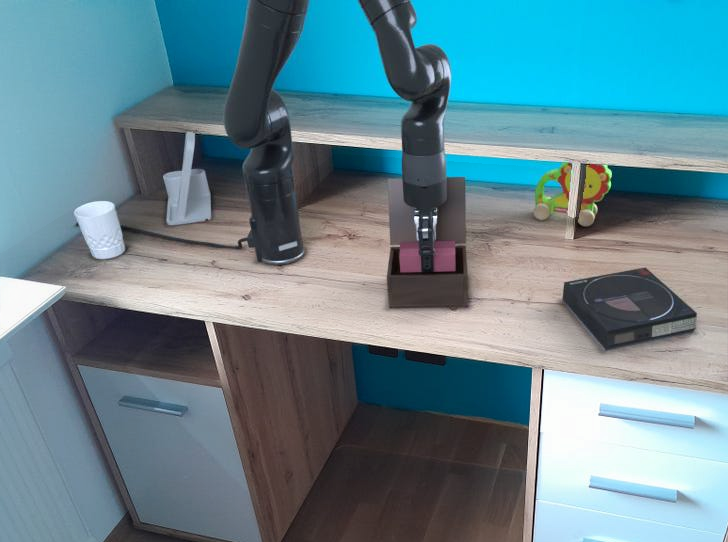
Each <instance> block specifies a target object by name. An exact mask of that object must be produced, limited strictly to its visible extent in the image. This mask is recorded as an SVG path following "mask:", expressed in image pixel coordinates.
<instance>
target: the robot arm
mask: <svg viewBox="0 0 728 542" xmlns="http://www.w3.org/2000/svg"><path fill="white" fill-rule="evenodd" d="M357 2H358V4H359V6H360V8H361V10H362V12H363V14H364V16H365V18H366V20H367V23H369V26H370V28H371V30H372V31H373V33H374V35H375V39H376V44H377V48H378V52H379V56H380V59H381V62H382V63H381V64H382V67H383V71H384V74H385V77H386V80H387V82H388V84H389V87H390V88H391V89H392V90H393V92H394V93H395V94H396V95H397V96H398V98H400V99H402V100H404V101H406V102H411V103H410V107H408V109H407V111H405V113H404V114H403V116H402V117H401V120H400V136H401V178H402V181H403V197H404V202H405V203H406V204H407V205H408V206H410V207H414V208H415V214H414V220H415V224H416V237H417V240H418V241H419V255H420V256H421V270H422V272H433V270H434V263H433V254H434V247H433V241H434V240H436V224H437V208H434V207H438V206H440V205H442V204H444V203H445V201H446V200H447V177H448V176H447V157H446V151H445V125H444V124H445V122H444V121H445V118H446V114H447V108H448V104H449V103H448V102H449V98H450V94H451V93H450V92H451V85H452V68H451V63H450V60H449V57H448V55H447V53H446V52H445V50H443V48H441V46H438V45H436V44H433V43H427V44H423V45H419V46H417V47H416V46H415V43H414V39H413V35H412V31H413V29H414V28H415V27H416V25H417V22H418V15H417V12H416V10H415V7H414V5H413V3H412V2H411V0H357ZM309 6H310V0H248V2H247V7H246V14H245V20H244V28H243V32H242V37H241V41H240V45H239V50H238V56H237V62H236V65H235V69H234V73H233V77H232V79H231V83H230V86H229V90H228V92H227V96H226V98H225V102H224V106H223V111H222V121H223V122H222V123H223V126H224V131H225V133H226V135H227V137H228V139H229V140H230V142H231V143H233V145H235V146H237V147H238V148H242V149H245V150H247V149H250V151H249V153H248V155H247V156H246V158H245V159H244V161H243V163H242V167H241V168H242V174H243V175H242V176H243V179H244V184H245V191H246V194H247V199H248V204H249V209H250V214H251V215H250V217H249V220H248V221H249V226H250V230H249V232H248V235H247V236H246V237H243V238H239V240H238V241H237V245H234V246H232V245H224V244H218V243H214V242H208V241H200V240H192V239H185V238H180V237H175V236H170V235H165V234H162V233H156V232H152V231H148V230H145V229H140V228H136V227H132V226H127V225H121V224H120V227H121V230H126V231H132V232H134V233H135V232H136V233H141V234H143V235H147V236H148V235H149V236H152V237H156V238H161V239H165V240H170V241H174V242H179V243H183V244H184V243H185V244H190V245H199V246H205V247H213V248H219V249H230V250H231V249H232V250H240V249H242V248H243V243H244V242H247V246H248V249H253V248H254V250H255V255H256V260H257V263H264V264H266V265H271V266H283V265H289V264H292V263H295V262H297V261H299V260H301V259H303V257H304V256H305V253H306V250H305V246H304V241H303V240H304V239H303V234H302V227H301V222H300V214H299V209H298V202H297V197H296V195H297V194H296V190H295V183H294V178H293V170H292V165H293V162H294V161H293V160H294V146H293V137H292V127H291V120H290V119H291V118H290V114H289V110H288V108H287V104H286V102H285V101H284V98H283V97H282V96H281V94H279V92H278V91H277V90H276V89H273V88H274V85H275V82H276V81H277V78H278V77H279V75H280V74H281V71H282V70H283V68H284V67H285V65H286V64H287V62H288V61H289V59H290V57H291V56H292V54H293V52H294V51H295V49H296V47H297V45H298V44H299V41H300V39H301V36H302V33H303V30H304V27H305V23H306V20H307V19H306V18H307V15H308V11H309ZM75 226H76V227H78V226H79V224H78V222H77V221H76V224H75ZM422 246H430V247H422Z"/></svg>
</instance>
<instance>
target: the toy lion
mask: <svg viewBox="0 0 728 542" xmlns="http://www.w3.org/2000/svg"><path fill="white" fill-rule="evenodd" d="M571 170H572V164H571V163H563V162H562V163H561V165H560V166H559V168H554V169H551V170H549V171H547V172H545V173H544V174H542V176H541V177H540V179H539V181H538V183H537V185H536V187H535V195H534V203H535V204H534V205H535V206H534V208H533V216H534V217H535V218H536V219H537V220H539V221H545V220H548V218H549V216H550V215H552V214H557V213H559V214H566V215H568V214H567V211H568V202H569V192H570V182H571ZM612 173H613V172H612V170H611V169H610V168H609V166H608V164H607V165H594V164H590V165H587V166H586V179H585V184H584V192H583V199H582V204H581V210H580V213H579V219H578V221H577V223H578V224H579V225H580V226H582V227H591V226H592V225H593V223H594V221H595V219H596V215H597V213H598V206H597V204H596V203H597V202H600V201H602V200H603V198H604V196H605V195H606V194H608V193H609V191H610V189H611V187H612V181H611V179H612V177H613V174H612ZM550 181H555V182H556V183H558V184H559V185H560V186H561V188H562V192H560V193H557V194H555V195H554V196H552V197H550V196H548V195H545V185H546V183H548V182H550Z"/></svg>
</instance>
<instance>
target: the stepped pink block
mask: <svg viewBox="0 0 728 542" xmlns="http://www.w3.org/2000/svg"><path fill="white" fill-rule="evenodd" d="M455 246H456V244H455V241H433V247H434V254H433V263H434V270H433V272H445V271H455ZM399 247H400V253H399V259H400V272H422V270H421V256H420V255H419V242H400V245H399ZM422 247H430V246H422Z"/></svg>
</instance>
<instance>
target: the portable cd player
mask: <svg viewBox="0 0 728 542" xmlns="http://www.w3.org/2000/svg"><path fill="white" fill-rule="evenodd" d="M561 299H562V301H561V302H562V303H563V304H564V305H565V306H566V308H567V309H568V310H569V311H570V312H571V313H572V314H573V315H574V317H575V318H576V319H577V321H579V323H580V324H581V325H582V326H583V327H584V329H585V330H586V331H587V333H589V334H590V336H591V337H592V338H593V339H594V340H595V341H596V342H597V344H598V345H599V347H601V349H603V351H604V352H606V351H611V350H616V349H621V348H626V347H631V346H637V345H640V344H644V343H650V342H655V341H660V340H664V339H669V338H673V337H674V338H675V337H678V336H683V335H688V334H693V332H695V330H696V329H697V317H698V316H697V315H698V313H697V311H695V310H694V309H693V308H692V307H691V306H690V305H688V304H687V303H686V302H685V301H684V300H683V299H682V298H681V297H679V296H678V295H677V294H676V293H675V292H674V291H673V290H672V289H671V288H669V286H667V285H666V284H665V283H664V282H663V281H662V280H661V279H660V278H658V277H657V276H656V275H655V274H654V273H653V272H652V271H650V269H648V268H647V267H639V268H634V269H629V270H624V271H623V270H622V271H617V272H612V273H607V274H602V275H597V276H591V277H585V278H580V279H573V280H568V281H565V282H563V289H562V298H561Z"/></svg>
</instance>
